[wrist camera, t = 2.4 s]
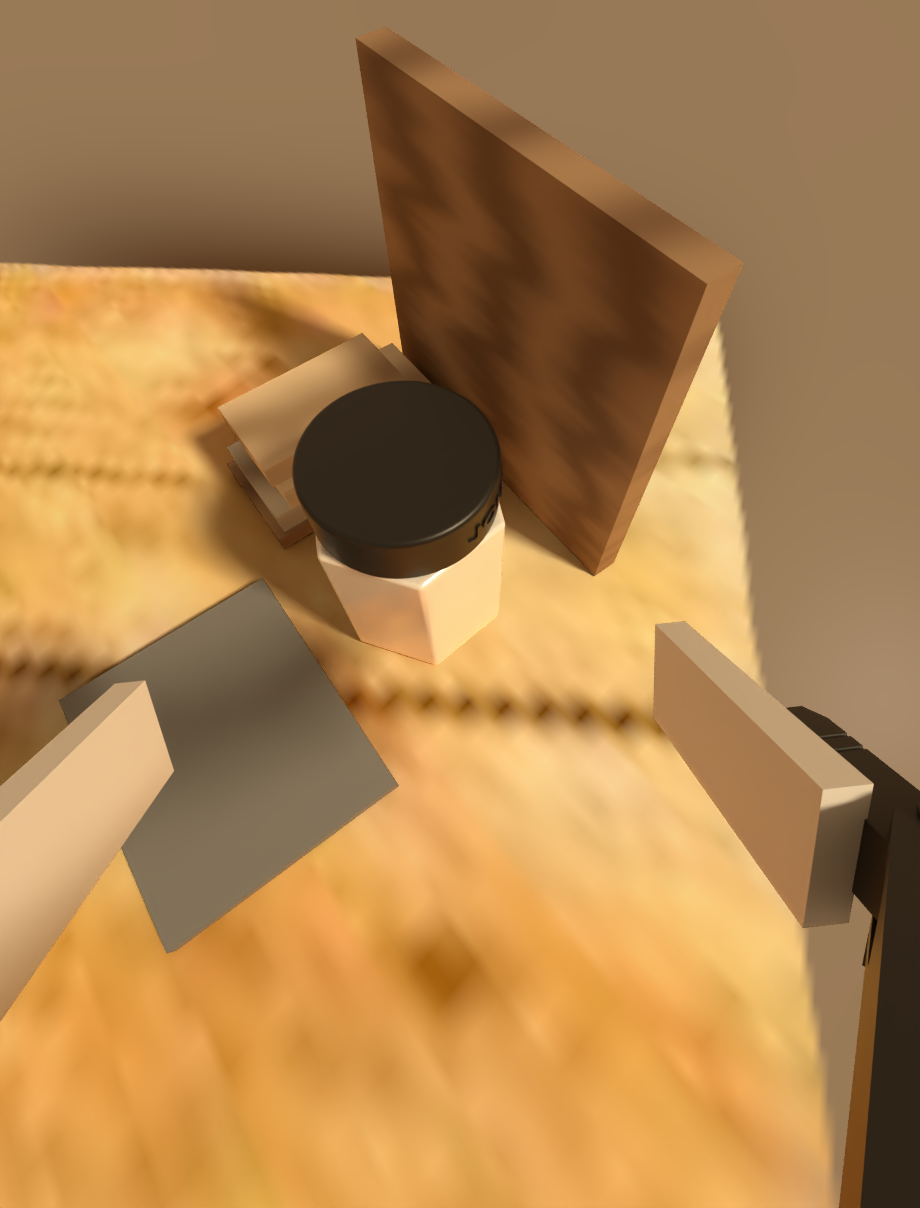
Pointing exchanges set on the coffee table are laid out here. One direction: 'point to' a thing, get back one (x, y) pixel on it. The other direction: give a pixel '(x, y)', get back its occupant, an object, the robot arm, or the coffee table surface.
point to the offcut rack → (509, 307)
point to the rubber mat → (238, 760)
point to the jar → (406, 514)
